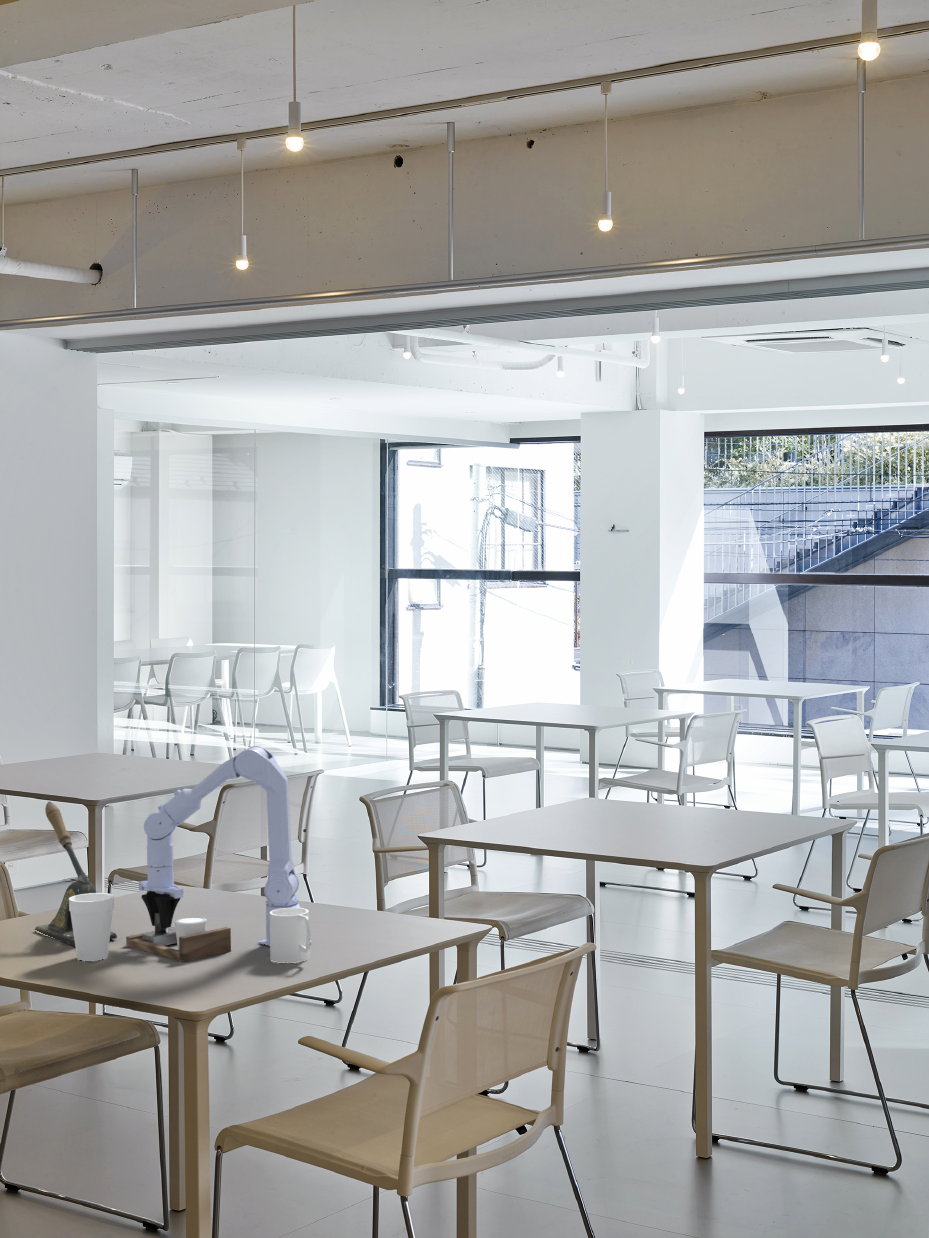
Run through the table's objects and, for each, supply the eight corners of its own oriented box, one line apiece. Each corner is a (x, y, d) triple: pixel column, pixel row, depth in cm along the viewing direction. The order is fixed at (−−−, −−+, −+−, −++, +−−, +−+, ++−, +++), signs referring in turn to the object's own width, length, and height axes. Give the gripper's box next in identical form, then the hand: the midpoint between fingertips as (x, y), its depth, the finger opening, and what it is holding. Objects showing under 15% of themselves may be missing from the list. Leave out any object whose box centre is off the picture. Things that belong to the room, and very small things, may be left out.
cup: (293, 969, 289) (292, 920, 289) (263, 958, 298) (262, 911, 298) (326, 962, 294) (326, 914, 294) (295, 952, 303) (295, 905, 303)
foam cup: (74, 965, 295) (73, 903, 295) (65, 956, 303) (64, 895, 303) (119, 959, 299) (118, 898, 299) (109, 950, 307) (108, 891, 307)
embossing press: (72, 949, 310) (69, 813, 310) (31, 931, 328) (29, 802, 328) (118, 941, 317) (116, 808, 316) (76, 923, 335) (74, 798, 335)
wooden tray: (230, 950, 305) (230, 928, 305) (183, 961, 296) (183, 938, 296) (172, 935, 320) (172, 913, 320) (126, 945, 312) (125, 923, 312)
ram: (184, 941, 314) (184, 910, 314) (153, 947, 308) (152, 916, 308) (173, 938, 317) (172, 908, 317) (141, 944, 311) (141, 914, 311)
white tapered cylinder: (200, 956, 301) (199, 923, 301) (170, 955, 302) (169, 922, 302) (212, 948, 308) (211, 916, 308) (182, 947, 309) (182, 915, 309)
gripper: (126, 864, 315) (127, 924, 315) (163, 871, 305) (164, 934, 305) (153, 859, 320) (154, 919, 320) (190, 867, 310) (191, 928, 310)
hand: (161, 926), depth 313 cm, fingers closed on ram, 3 cm apart
